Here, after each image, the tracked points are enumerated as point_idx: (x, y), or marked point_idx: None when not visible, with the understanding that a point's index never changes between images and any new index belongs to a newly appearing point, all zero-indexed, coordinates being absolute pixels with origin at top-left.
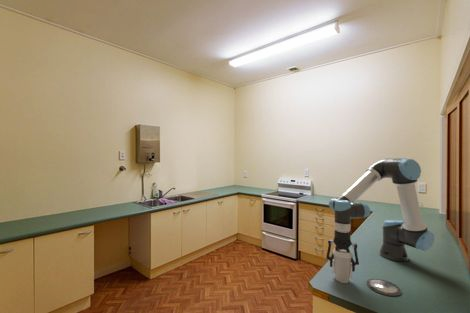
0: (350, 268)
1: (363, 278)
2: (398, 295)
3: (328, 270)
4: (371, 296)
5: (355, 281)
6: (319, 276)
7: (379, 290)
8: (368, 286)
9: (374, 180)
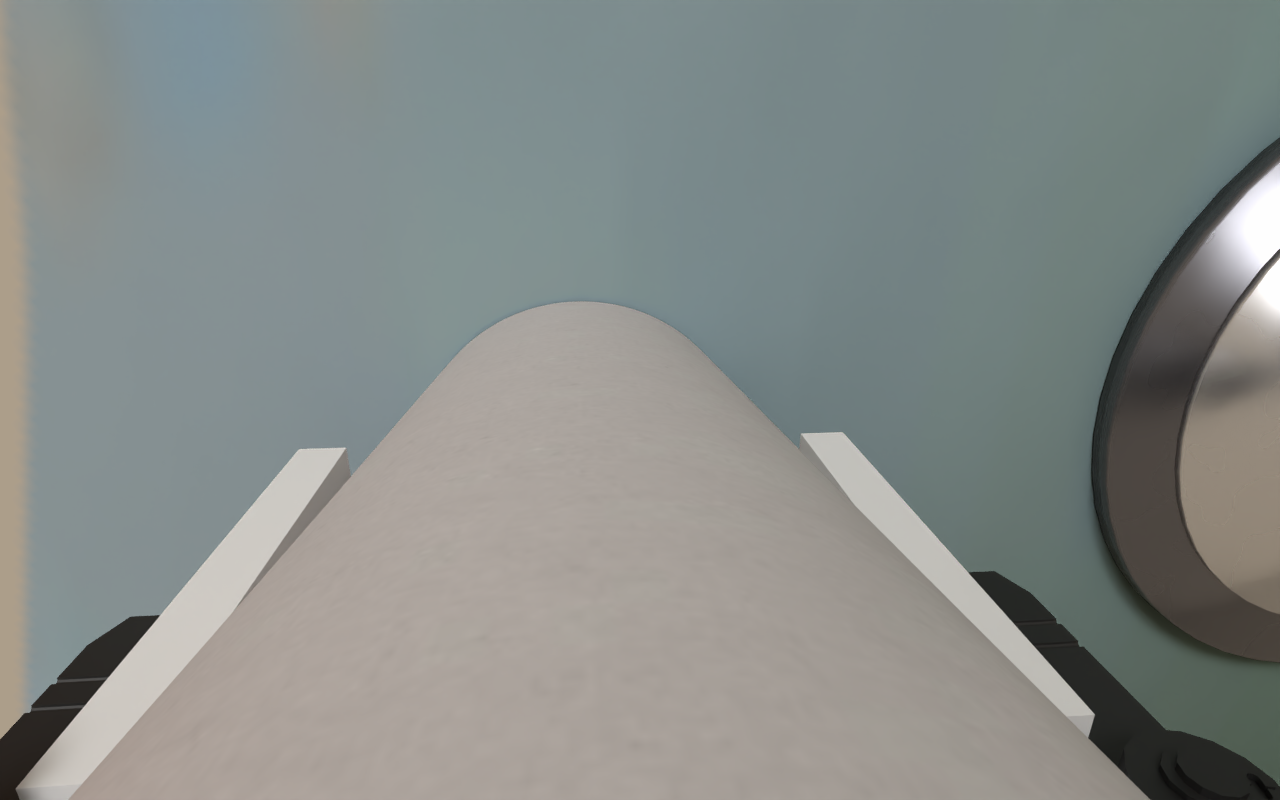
0: None
1: (1120, 120)
2: None
3: (144, 52)
4: None
5: (879, 393)
6: (48, 560)
7: (1260, 605)
8: (1104, 513)
9: None
